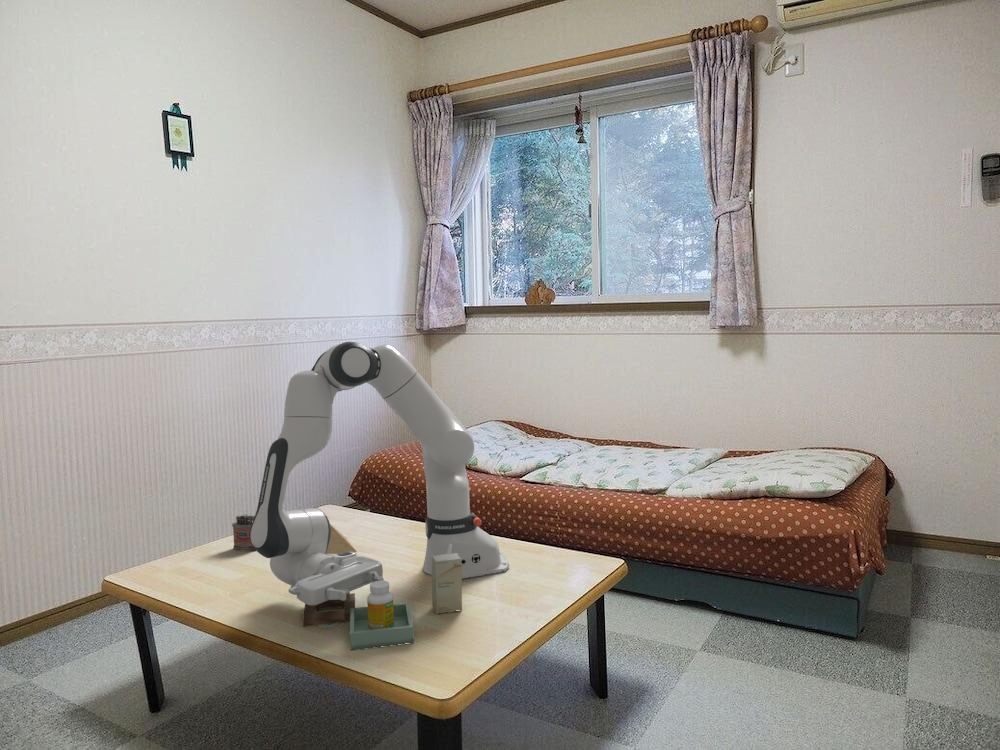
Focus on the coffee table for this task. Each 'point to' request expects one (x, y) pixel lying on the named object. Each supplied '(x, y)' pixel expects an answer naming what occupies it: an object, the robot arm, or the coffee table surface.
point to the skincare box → (446, 583)
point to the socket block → (328, 612)
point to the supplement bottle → (380, 606)
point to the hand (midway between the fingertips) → (364, 588)
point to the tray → (381, 637)
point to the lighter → (243, 532)
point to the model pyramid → (338, 543)
